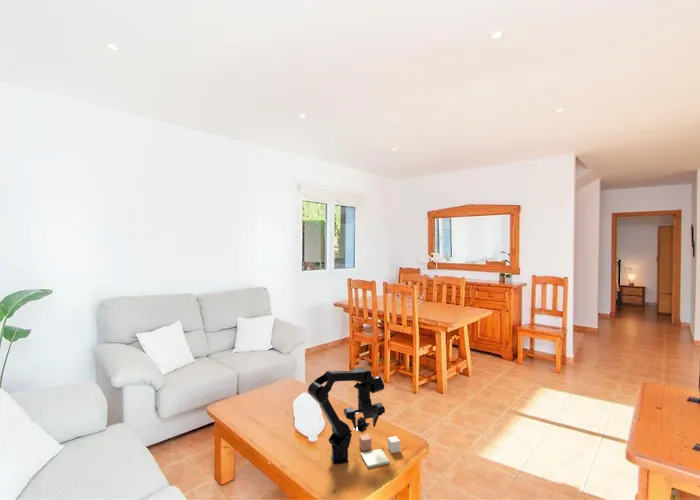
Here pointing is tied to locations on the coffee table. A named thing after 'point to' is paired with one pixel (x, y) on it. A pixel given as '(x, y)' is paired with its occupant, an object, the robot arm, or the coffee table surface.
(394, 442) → the cream brick
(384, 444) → the coffee table surface
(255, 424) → the coffee table surface
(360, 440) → the terracotta brick
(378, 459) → the plate
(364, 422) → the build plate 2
